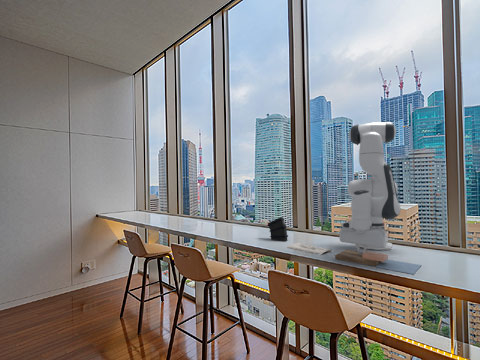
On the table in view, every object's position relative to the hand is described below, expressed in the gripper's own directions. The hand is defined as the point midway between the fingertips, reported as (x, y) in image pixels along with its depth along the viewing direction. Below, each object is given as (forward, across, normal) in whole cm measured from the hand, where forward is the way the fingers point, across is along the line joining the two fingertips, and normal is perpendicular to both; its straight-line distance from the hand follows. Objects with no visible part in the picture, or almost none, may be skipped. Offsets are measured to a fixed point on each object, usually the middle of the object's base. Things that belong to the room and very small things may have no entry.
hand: (361, 254), depth 127 cm
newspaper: (+4, +30, -3) cm, 30 cm away
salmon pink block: (+1, -6, 0) cm, 6 cm away
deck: (+3, +1, -1) cm, 3 cm away
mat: (+3, -15, -1) cm, 16 cm away
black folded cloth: (+3, +58, -11) cm, 59 cm away
